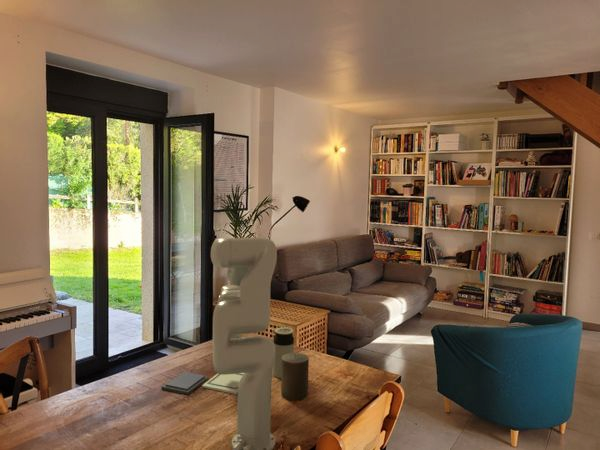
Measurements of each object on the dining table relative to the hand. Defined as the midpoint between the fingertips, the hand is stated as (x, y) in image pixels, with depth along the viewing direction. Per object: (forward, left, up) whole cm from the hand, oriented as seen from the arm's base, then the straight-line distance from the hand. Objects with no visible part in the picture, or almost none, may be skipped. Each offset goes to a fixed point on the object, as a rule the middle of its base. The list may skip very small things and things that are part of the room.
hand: (229, 365), depth 174 cm
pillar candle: (0, -26, -7) cm, 27 cm away
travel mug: (+14, -16, -7) cm, 22 cm away
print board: (0, 0, -6) cm, 6 cm away
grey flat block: (-8, +14, -6) cm, 17 cm away
